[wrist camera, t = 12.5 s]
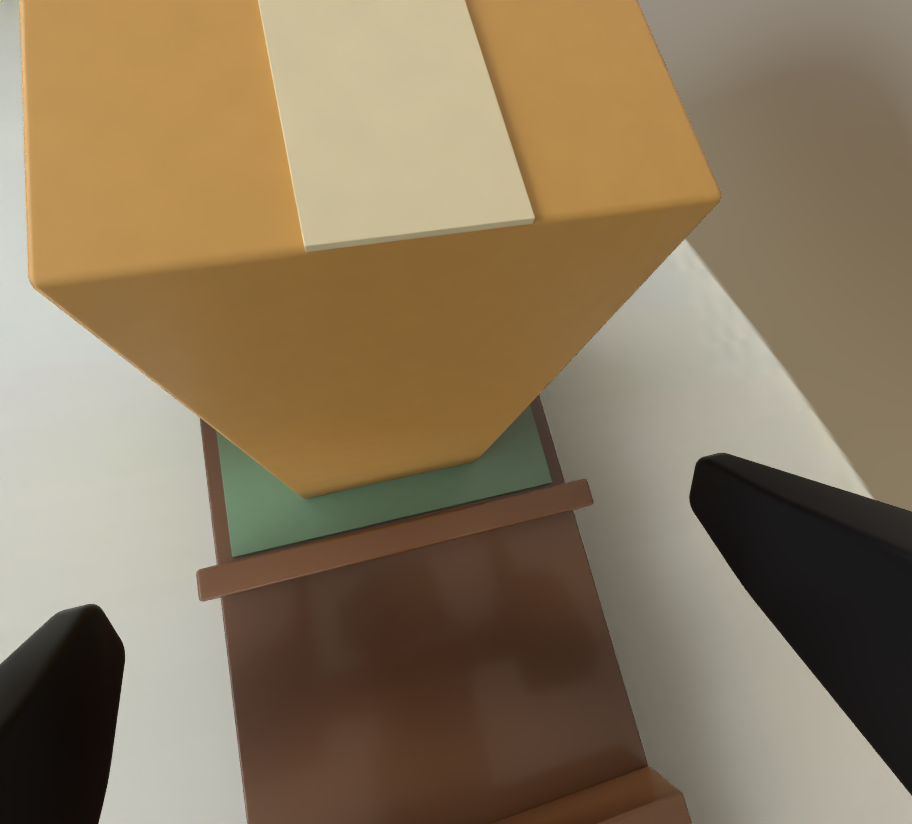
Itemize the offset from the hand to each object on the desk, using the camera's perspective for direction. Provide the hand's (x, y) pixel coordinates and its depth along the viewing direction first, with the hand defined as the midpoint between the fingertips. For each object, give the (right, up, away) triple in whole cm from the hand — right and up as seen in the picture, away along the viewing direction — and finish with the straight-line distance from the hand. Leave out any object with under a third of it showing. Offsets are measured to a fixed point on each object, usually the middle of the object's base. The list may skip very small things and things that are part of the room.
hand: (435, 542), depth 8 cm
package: (-2, +2, +9) cm, 9 cm away
